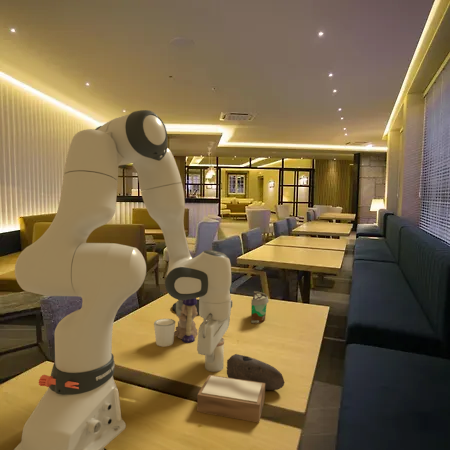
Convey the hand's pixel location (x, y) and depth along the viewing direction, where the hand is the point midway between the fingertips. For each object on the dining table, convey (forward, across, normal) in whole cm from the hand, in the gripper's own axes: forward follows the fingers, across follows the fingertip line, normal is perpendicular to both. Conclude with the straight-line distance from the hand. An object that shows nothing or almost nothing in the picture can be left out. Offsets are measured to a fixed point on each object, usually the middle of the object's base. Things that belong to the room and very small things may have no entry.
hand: (214, 356), depth 99 cm
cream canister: (+3, 0, 0) cm, 3 cm away
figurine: (+3, +18, +15) cm, 24 cm away
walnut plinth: (+3, -16, -9) cm, 19 cm away
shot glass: (+3, +11, +20) cm, 23 cm away
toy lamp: (+3, +15, +13) cm, 20 cm away
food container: (+3, +40, -7) cm, 41 cm away
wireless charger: (+4, +45, +22) cm, 50 cm away
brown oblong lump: (+3, -6, -13) cm, 15 cm away
